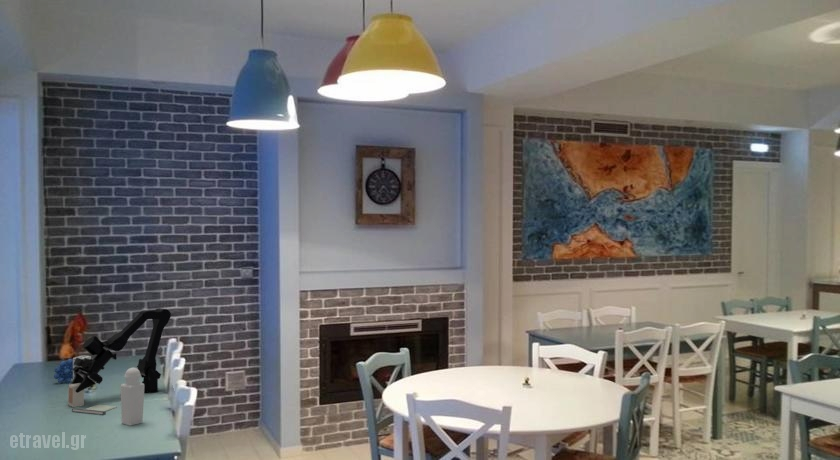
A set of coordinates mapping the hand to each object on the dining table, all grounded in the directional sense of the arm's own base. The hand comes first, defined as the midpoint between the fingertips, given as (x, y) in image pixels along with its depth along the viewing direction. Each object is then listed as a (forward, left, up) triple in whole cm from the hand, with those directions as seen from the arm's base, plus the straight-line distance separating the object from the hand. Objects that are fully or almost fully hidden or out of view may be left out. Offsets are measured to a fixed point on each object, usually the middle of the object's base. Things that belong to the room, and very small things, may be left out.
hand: (73, 390), depth 282 cm
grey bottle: (-26, +34, -7) cm, 44 cm away
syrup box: (+2, -38, -7) cm, 38 cm away
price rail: (-8, +14, -7) cm, 17 cm away
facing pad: (-11, +9, -7) cm, 16 cm away
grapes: (+10, -48, -7) cm, 49 cm away
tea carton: (-1, -1, -7) cm, 7 cm away
